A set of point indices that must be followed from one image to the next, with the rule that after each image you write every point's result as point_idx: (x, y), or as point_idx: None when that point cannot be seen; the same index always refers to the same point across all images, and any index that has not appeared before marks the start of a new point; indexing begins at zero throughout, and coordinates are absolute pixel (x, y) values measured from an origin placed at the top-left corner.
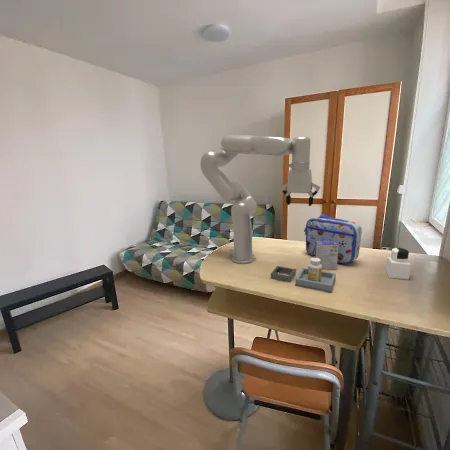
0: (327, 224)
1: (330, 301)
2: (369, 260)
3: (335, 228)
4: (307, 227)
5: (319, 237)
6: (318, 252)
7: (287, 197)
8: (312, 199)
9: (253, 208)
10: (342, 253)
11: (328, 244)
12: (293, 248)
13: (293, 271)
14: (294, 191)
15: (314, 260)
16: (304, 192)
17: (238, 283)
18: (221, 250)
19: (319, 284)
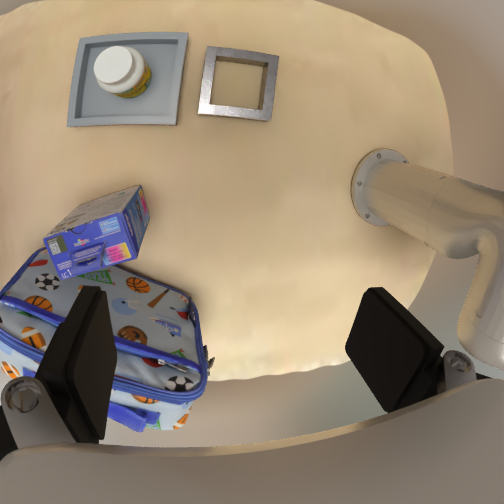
0: None
1: (93, 5)
2: None
3: None
4: (198, 364)
5: (138, 321)
6: (120, 203)
7: (434, 337)
8: (41, 361)
9: (491, 294)
10: None
11: (75, 228)
12: (245, 326)
13: (203, 91)
14: (435, 419)
15: (116, 52)
16: (128, 454)
17: (350, 24)
18: None
19: (113, 35)
